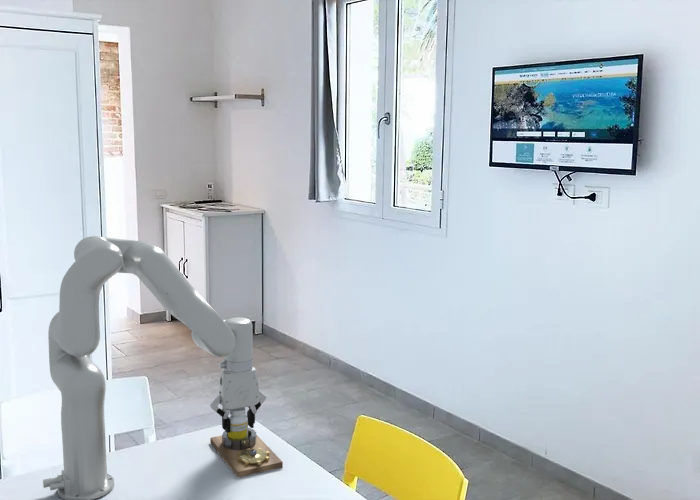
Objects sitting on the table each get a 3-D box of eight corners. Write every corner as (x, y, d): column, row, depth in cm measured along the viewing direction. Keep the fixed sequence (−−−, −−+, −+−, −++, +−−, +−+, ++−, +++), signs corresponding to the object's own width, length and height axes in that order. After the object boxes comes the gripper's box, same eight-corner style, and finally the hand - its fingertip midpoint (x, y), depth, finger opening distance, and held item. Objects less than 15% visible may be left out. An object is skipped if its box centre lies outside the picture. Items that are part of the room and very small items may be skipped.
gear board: (238, 477, 176) (237, 471, 175) (210, 442, 195) (210, 437, 194) (282, 467, 181) (282, 461, 181) (251, 434, 200) (251, 429, 200)
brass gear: (243, 468, 177) (243, 461, 177) (232, 455, 184) (232, 447, 184) (274, 461, 181) (274, 454, 181) (262, 448, 188) (262, 441, 188)
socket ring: (229, 452, 186) (228, 443, 185) (218, 439, 193) (218, 430, 193) (260, 445, 190) (260, 437, 190) (249, 433, 198) (248, 424, 197)
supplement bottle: (232, 437, 195) (232, 403, 193) (250, 439, 194) (250, 405, 192) (224, 446, 189) (224, 411, 188) (243, 448, 188) (244, 413, 187)
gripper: (211, 373, 181) (212, 440, 184) (274, 364, 189) (273, 427, 192) (202, 364, 187) (203, 429, 190) (263, 356, 195) (263, 417, 198)
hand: (238, 427), depth 191 cm, fingers open, 6 cm apart
